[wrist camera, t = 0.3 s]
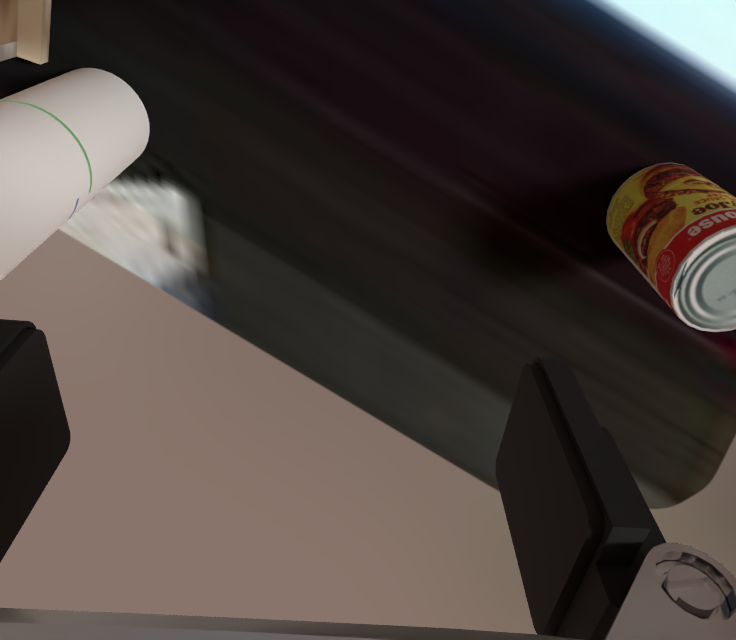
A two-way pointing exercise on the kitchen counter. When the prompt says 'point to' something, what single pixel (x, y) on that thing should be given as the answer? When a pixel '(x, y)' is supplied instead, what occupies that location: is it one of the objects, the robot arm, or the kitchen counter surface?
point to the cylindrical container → (62, 153)
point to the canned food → (680, 241)
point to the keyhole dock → (25, 29)
